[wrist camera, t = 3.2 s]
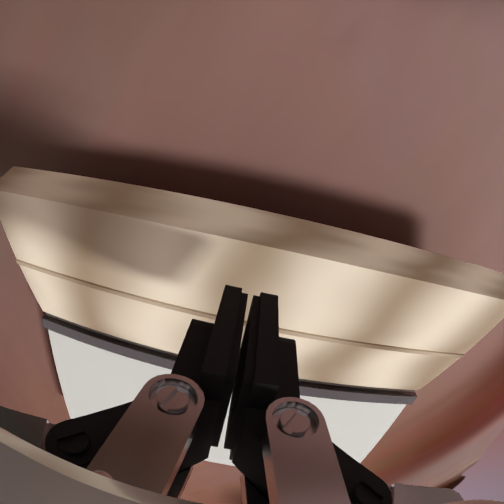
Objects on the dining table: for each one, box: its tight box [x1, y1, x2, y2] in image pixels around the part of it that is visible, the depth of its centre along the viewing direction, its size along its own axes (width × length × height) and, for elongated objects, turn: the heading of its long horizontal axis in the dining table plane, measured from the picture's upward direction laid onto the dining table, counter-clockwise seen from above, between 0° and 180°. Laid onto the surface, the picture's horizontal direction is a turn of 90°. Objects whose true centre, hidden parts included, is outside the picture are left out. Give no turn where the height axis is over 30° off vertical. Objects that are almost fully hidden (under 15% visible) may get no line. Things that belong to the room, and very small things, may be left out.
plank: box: [0, 166, 504, 390], centre depth 16 cm, size 26×10×2 cm, turn 78°
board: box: [42, 313, 417, 466], centre depth 22 cm, size 26×12×2 cm, turn 78°
